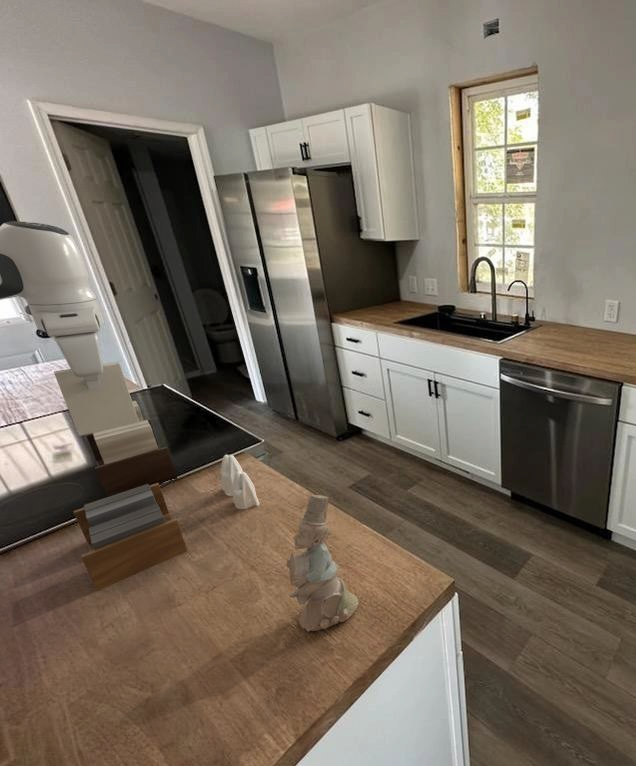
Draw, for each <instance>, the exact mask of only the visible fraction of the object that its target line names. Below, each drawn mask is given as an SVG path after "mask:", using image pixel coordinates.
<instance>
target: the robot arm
mask: <svg viewBox="0 0 636 766" xmlns="http://www.w3.org/2000/svg"><path fill="white" fill-rule="evenodd" d="M16 297H20V298H23V299H24V300H25V302H26V304H27V306H28V308H29V311H30V314H31V316H32V319H33V321H34V325H35V326H36V327H35V328H36V329H37V330H39V331H42V332H44V333H46V335H47V336H48V337H50V338H52V339H53V340H54V341H55V343H56V344H57V347H58V348H59V350H60V351H61V354H62V356H63V357H64V359H65V361H66V363H67V364H68V367H69V369H71V370H72V371H73V373H74V374H75V376H76V377H83V378H84V380H85V382H86V384H87V387H88V389H89V390H94V389H99V388H101V385H100V382H99V378H98V375H99V374H102V373H103V364H104V363H103V358H102V352H101V347H100V343H99V336H98V335H99V333H98V332H100V331H101V326H102V325H103V324H104V323H105V319H104V315H103V313H102V310H101V307H100V304H99V300H98V298H97V296H96V294H95V292H94V291H93V290H92V288H91V285H90V273H89V270H88V268H87V264H86V262H85V260H84V256H83V254H82V252H81V251H80V247H79V246H78V244H77V243H76V241H75V238H73V236H72V235H71V234H70V233H69V232H68V231H66V230H65V229H63V228H60V227H58V226H54V225H51V224H45V223H39V222H28V221H20V220H19V221H18V220H15V221H12V220H11V221H7V222H6V221H5V222H4V223H2V224H1V225H0V301H2V300H6V299H7V300H9V299H13V298H16Z"/></svg>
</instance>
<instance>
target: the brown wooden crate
mask: <svg viewBox="0 0 636 766" xmlns="http://www.w3.org/2000/svg"><path fill="white" fill-rule="evenodd" d="M132 403H133V406H134V409H135V412H136V415H137V418H138V421H139V422H136V423H132V424H128V425H123V426H119V427H115V428H111V429H107V430H102V431H98V432H94V433H90V434H85V437H86V439H87V442H88V444H89V446H90V449H91V452H92V454H93V457H94V459H95V461H96V465H97V466H95V467H94V469H95V471H96V474H97V476H98V479H99V481H100V484H101V486H102V489H103V491H104V493H105V496H106V498H107V497H110V496H113V495H116V494H119V493H122V492H125V491H128V490H131V489H134V488H137V487H140V486H143V485H146V484H148V485H149V486H150V485H153V484H156V483H163V482H165V481H168V480H172V479H176V480H178V475H177V474H176V470H175V468H174V465H173V461H172V458H171V455H170V452H169V448H168V447H167V446H164V447H161V446H160V444H159V442H158V439H157V436H156V433H155V430H154V427H153V423H152V421H151V418H149V419H144V417H143V415H142V412H141V408H140V406H139V404H138V402H137V401H136V400H132Z"/></svg>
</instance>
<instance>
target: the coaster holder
mask: <svg viewBox="0 0 636 766" xmlns="http://www.w3.org/2000/svg"><path fill="white" fill-rule="evenodd" d="M73 514H74V517H75V519H76V521H77V523H78V525H79V528H80V530H81V532H82V534H83V538H84V539H85V542H86V543H87V547H88V552H85V553H83V554H81V555H80V556H81V560H82V562H83V564H84V566H85V569H86V570H87V572H88V575H89V577H90V580H91V581H92V584H93V586H94V587H95V590H96V591H97V592H99V591H101V590H103V589H106V588H108V587H111V586H112V585H114V584H117V583H119V582H121V581H124V580H127V579H129V578H131V577H133V576H135V575H137V574H139V573H141V572H144V571H147V570H148V569H151V568H153V567H156V566H157V565H160V564H162V563H164V562H167V561H169V560H171V559H174V558H175V557H178V556H181V555H183V554H185V553H188V548H187V545H186V542H185V539H184V536H183V533H182V530H181V528H180V524H179V522H178V518H177V517H176V518H172V516H171V514H170V511H169V509H168V505H167V503H166V499H165V496H164V494H163V491H162V488H161V486H160V485H159V483H156V484H153V485H150V486H149V485H148V484H146V485H143V486H140V487H137V488H134V489H131V490H128V491H125V492H122V493H119V494H116V495H113V496H110V497H107V496H106V497H104V498H101V499H97V500H95V501H92V502H88V503H85V504H83V507H81V508H79V509H76V510H73Z"/></svg>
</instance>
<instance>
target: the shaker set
mask: <svg viewBox="0 0 636 766" xmlns="http://www.w3.org/2000/svg"><path fill="white" fill-rule="evenodd" d="M220 478H221V482H220V483H221V484H220V485H221V486H220V487H221V488H220V489H221V491H224V494H225V495H226V496H228V497H231V496H232V504H233V505H234V507H235V508H236V509H238V510H247V509H249V508H251V507H254V506H256V507H258V506H259V505H260V501H259V499H258V496H257V492H256V487H255V485H254V483H253V481H252V480H251V478H250V477H249V475H248V473H246V472H245V471H243V469H242V466H241V465H240V463H239V461H238V460H237V458H236V457H235V456H234V455H233V454H224V456H223V457H222V460H221V464H220Z"/></svg>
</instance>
